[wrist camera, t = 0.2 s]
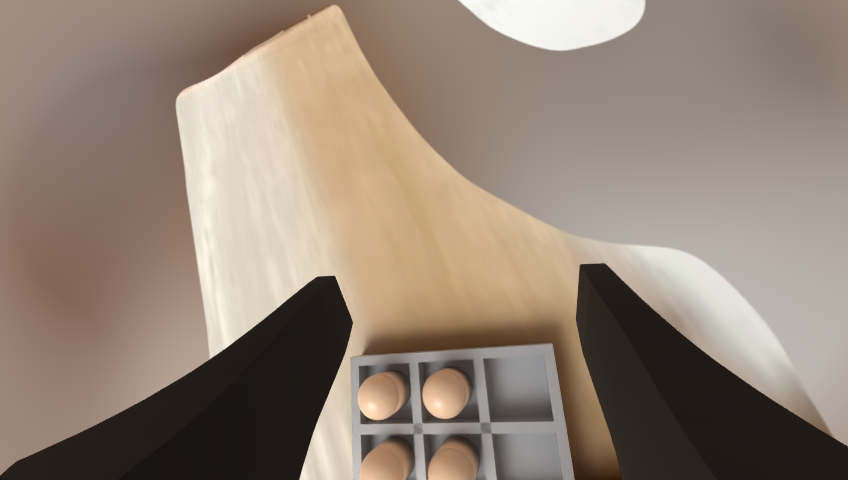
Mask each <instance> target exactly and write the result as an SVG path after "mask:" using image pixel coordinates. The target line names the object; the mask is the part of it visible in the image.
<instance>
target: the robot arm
mask: <svg viewBox="0 0 848 480" xmlns="http://www.w3.org/2000/svg"><path fill="white" fill-rule="evenodd" d="M576 322H577V327H578V332H579V337H580V342H581V346H582V351H583V355H584V358H585V361H586V364H587V367H588V370H589V373H590V376H591V379H592V382H593V385H594V388H595V391H596V393H597V396H598V399H599V402H600V405H601V408H602V411H603V414H604V417H605V420H606V423H607V426H608V429H609V432H610V435H611V438H612V441H613V445H614V448H615V451H616V455H617V459H618V463H619V467H620V472H621V476H622V480H848V447H847V446H846V445H844V444H843V443H841V442H839V441H838V440H836V439H834V438H833V437H831V436H829V435H827V434H826V433H824V432H822V431H821V430H819V429H818V428H816V427H814V426H813V425H811V424H810V423H808V422H806V421H805V420H803V419H802V418H800V417H798V416H797V415H795V414H794V413H792V412H790V411H789V410H787V409H786V408H784V407H782V406H781V405H779V404H778V403H776V402H775V401H773V400H771V399H770V398H768V397H767V396H765V395H764V394H762V393H761V392H759V391H758V390H756V389H755V388H753V387H752V386H750V385H749V384H748V383H746V382H745V381H743V380H742V379H741V378H739V377H738V376H736V375H735V374H733V373H732V372H731V371H729V370H728V369H726V368H725V367H724V366H722V365H721V364H719V363H718V362H717V361H715V360H714V359H713V358H711V357H710V356H709V355H707V354H706V353H705V352H703V351H702V350H701V349H699V348H698V347H697V346H696V345H695V344H693V343H692V342H691V341H690V340H688V339H687V338H686V337H685V336H683V335H682V334H681V333H680V332H679V331H677V330H676V329H675V328H674V327H673V326H671V325H670V324H669V323H668V322H667V321H666V320H665V319H663V318H662V317H661V316H660V315H659V314H658V313H657V312H656V311H654V310H653V309H652V308H651V307H650V306H649V305H648V304H647V303H646V302H644V301H643V300H642V299H641V298H640V297H639V296H638V295H637V294H636V293H635V292H634V291H633V290H632V289H631V288H630V287H629V286H628V285H627V284H626V283H625V282H624V281H622V280H621V279H620V278H619V277H618V276H617V275H616V274H615V273H614V272H613V271H612V270H611V269H610V268H609V267H608V266H607V265H606V264H605V263H601V264H580V271H579V284H578V298H577V312H576ZM352 325H353V321H352V318H351V316H350V313H349V311H348V308H347V306H346V303H345V300H344V298H343V295H342V293H341V290H340V288H339V285H338V283H337V280H336V277H335V276H320V277H316V278H315V279H313V280H312V281H311V282H309V283H308V284H307V285H305V286H304V287H303V288H302V289H300V290H299V291H298V292H297V293H295V294H294V295H293V296H292V297H291V298H289V299H288V300H287V301H286V302H285V303H283V304H282V305H281V306H280V307H278V308H277V309H276V310H275V311H274V312H272V313H271V314H270V315H269V316H267V317H266V318H265V319H264V320H262V321H261V322H260V323H259V324H257V325H256V326H255V327H253V328H252V329H251V330H250V331H248V332H247V333H246V334H244V335H243V336H242V337H240V338H239V339H238V340H236V341H235V342H234V343H232V344H231V345H230V346H228V347H227V348H226V349H224V350H223V351H221V352H220V353H219V354H217V355H216V356H214V357H213V358H211V359H210V360H208V361H207V362H205V363H204V364H202V365H201V366H199V367H198V368H196V369H195V370H193V371H192V372H190V373H188V374H187V375H185V376H184V377H182V378H180V379H179V380H177V381H175V382H174V383H172V384H170V385H168V386H167V387H165V388H163V389H162V390H160V391H158V392H157V393H155V394H153V395H151V396H150V397H148V398H146V399H145V400H143V401H141V402H139V403H137V404H135V405H133V406H132V407H130V408H128V409H126V410H124V411H123V412H120V413H119V414H117V415H115V416H113V417H111V418H109V419H107V420H105V421H103V422H101V423H99V424H97V425H95V426H93V427H91V428H89V429H87V430H85V431H83V432H80V433H78V434H76V435H74V436H72V437H70V438H67V439H65V440H63V441H61V442H59V443H56V444H54V445H52V446H50V447H48V448H46V449H43V450H41V451H39V452H37V453H35V454H33V455H30V456H28V457H26V458H23V459H21V460H19V461H17V462H15V463H14V464H13V465H12V466H11V467H9V468H8V469H7V470H6V471H5V472H4V473H3V474H2V475H0V480H299V478H300V475H301V471H302V467H303V464H304V461H305V458H306V454H307V451H308V448H309V444H310V441H311V438H312V435H313V432H314V429H315V426H316V424H317V421H318V418H319V416H320V413H321V411H322V409H323V406H324V404H325V401H326V399H327V397H328V394H329V392H330V389H331V387H332V384H333V382H334V380H335V377H336V375H337V372H338V370H339V367H340V365H341V362H342V360H343V357H344V355H345V352H346V348H347V345H348V341H349V337H350V333H351V329H352Z"/></svg>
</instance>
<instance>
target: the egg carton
mask: <svg viewBox="0 0 848 480" xmlns="http://www.w3.org/2000/svg"><path fill="white" fill-rule="evenodd" d="M350 361H351V405H352V449H353V480H575V478H574V472H573V466H572V460H571V454H570V447H569V441H568V435H567V429H566V423H565V417H564V411H563V405H562V399H561V393H560V386H559V380H558V374H557V368H556V362H555V356H554V350H553V344H552V343H551V342H550V343H535V344H520V345H505V346H490V347H475V348H460V349H446V350H431V351H416V352H401V353H386V354H371V355H360V356H354V357H350Z"/></svg>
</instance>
